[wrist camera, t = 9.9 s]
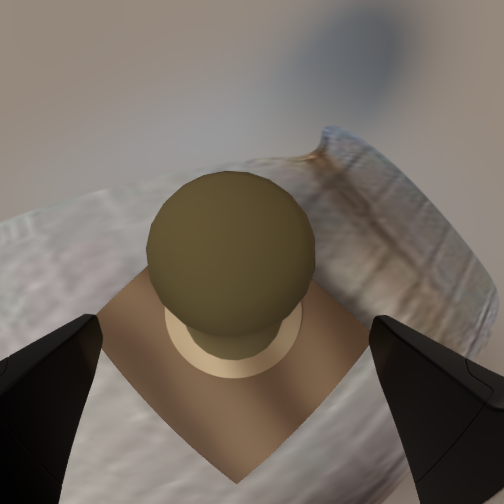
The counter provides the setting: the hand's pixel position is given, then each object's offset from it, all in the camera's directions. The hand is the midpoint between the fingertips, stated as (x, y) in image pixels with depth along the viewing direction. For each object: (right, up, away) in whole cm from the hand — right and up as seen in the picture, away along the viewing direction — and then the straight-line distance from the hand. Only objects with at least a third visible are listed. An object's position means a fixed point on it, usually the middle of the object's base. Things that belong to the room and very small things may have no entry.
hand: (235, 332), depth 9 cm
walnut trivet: (-1, -3, +10) cm, 11 cm away
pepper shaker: (-1, -1, +9) cm, 9 cm away
